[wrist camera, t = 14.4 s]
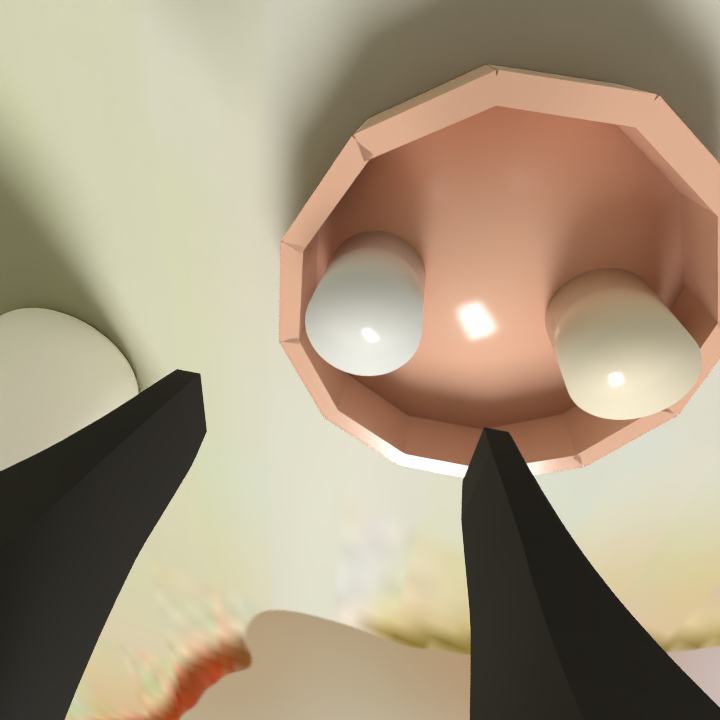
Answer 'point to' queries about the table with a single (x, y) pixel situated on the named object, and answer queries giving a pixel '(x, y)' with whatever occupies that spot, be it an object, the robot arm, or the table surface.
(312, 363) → the bowl
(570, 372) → the cream marshmallow
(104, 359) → the mug
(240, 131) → the table surface
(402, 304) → the pale grey cylinder
